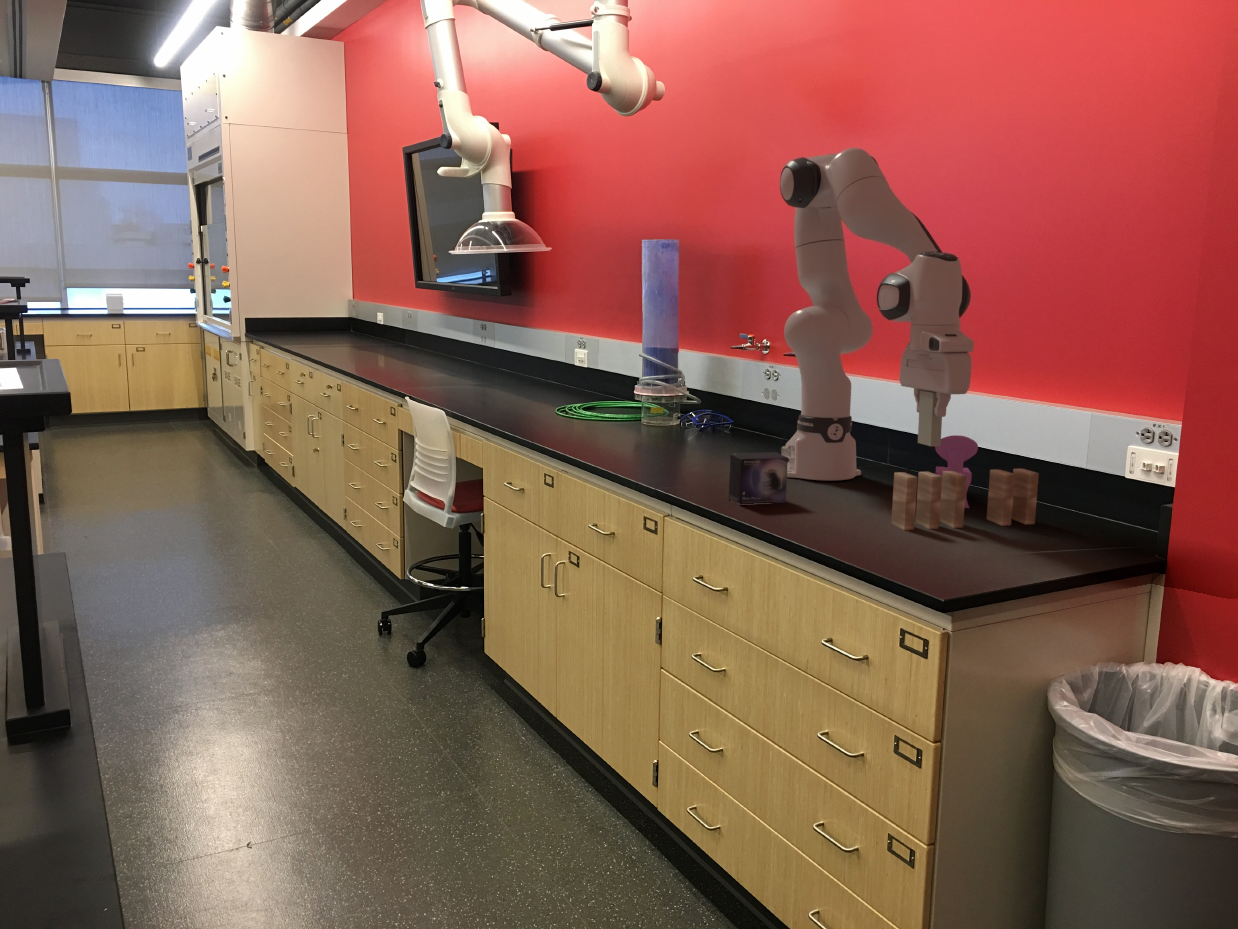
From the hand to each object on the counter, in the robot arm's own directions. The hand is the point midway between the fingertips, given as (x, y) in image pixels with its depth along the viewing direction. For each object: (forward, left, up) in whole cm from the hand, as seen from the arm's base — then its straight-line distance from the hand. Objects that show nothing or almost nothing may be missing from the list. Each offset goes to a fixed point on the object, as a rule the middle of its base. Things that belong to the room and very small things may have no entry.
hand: (930, 414), depth 186 cm
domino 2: (0, 0, -6) cm, 6 cm away
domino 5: (+3, +14, -21) cm, 25 cm away
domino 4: (+3, +4, -21) cm, 21 cm away
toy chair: (-13, +14, -21) cm, 28 cm away
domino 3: (+3, -1, -21) cm, 21 cm away
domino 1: (+3, -6, -21) cm, 22 cm away
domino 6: (+3, +19, -21) cm, 28 cm away
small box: (-21, -26, -21) cm, 39 cm away
